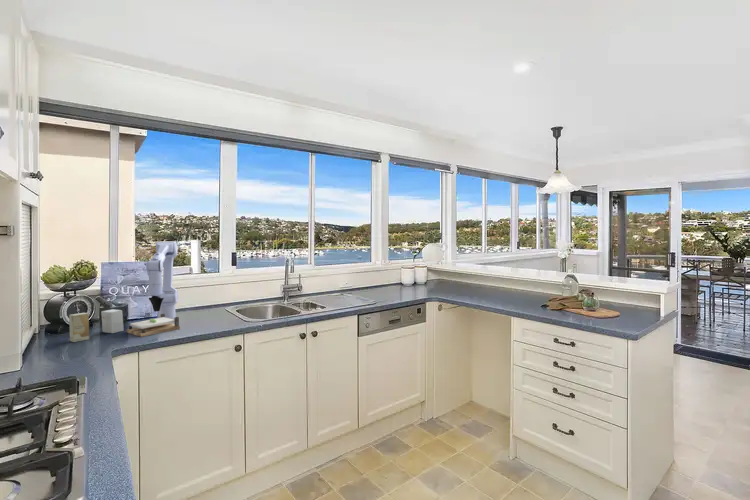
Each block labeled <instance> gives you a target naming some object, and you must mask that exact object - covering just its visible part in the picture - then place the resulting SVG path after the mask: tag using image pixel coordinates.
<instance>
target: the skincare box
mask: <svg viewBox="0 0 750 500" xmlns="http://www.w3.org/2000/svg"><path fill="white" fill-rule="evenodd" d="M68 317H69V318H68V319H69V320H68V321H69V341H70V342H72V343H76V342H81V341H82V342H83V341H88V340H90V323H89V322H90V321H89V320H90V319H89V318H90V317H89V313H88V312H80V313H74V314H73V313H72V314H68Z"/></svg>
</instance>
